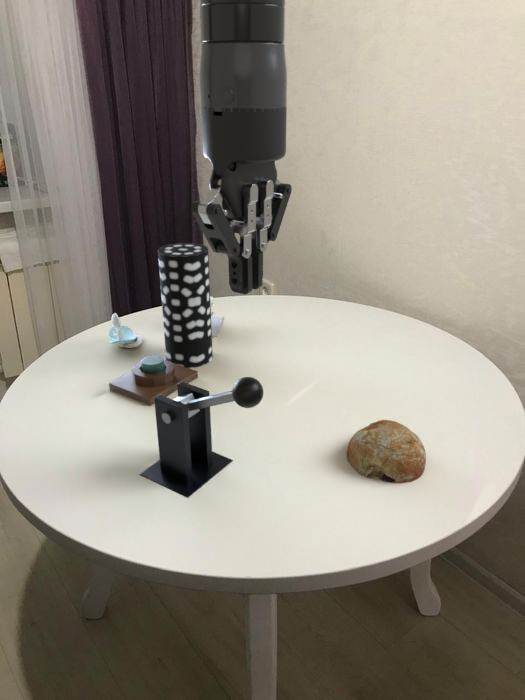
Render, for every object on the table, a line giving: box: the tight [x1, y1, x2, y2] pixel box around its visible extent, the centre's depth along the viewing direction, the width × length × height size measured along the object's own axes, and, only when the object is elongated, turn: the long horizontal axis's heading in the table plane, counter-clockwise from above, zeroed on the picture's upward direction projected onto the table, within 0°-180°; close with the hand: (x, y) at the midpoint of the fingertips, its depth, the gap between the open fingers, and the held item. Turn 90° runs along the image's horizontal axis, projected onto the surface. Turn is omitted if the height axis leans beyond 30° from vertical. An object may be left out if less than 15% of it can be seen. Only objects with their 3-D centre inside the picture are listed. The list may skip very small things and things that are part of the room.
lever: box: [172, 376, 264, 418], centre depth 67 cm, size 14×3×3 cm, turn 56°
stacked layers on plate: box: [210, 295, 224, 338], centre depth 118 cm, size 10×9×6 cm
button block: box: [108, 358, 199, 407], centre depth 95 cm, size 11×9×4 cm
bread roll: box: [345, 419, 427, 484], centre depth 76 cm, size 10×10×8 cm
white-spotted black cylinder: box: [157, 242, 214, 369], centre depth 102 cm, size 8×8×20 cm
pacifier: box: [108, 312, 143, 349], centre depth 110 cm, size 7×6×6 cm
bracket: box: [139, 382, 234, 499], centre depth 73 cm, size 8×9×12 cm
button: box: [140, 354, 165, 374], centre depth 94 cm, size 4×4×2 cm
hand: (246, 289), depth 59 cm, fingers closed
